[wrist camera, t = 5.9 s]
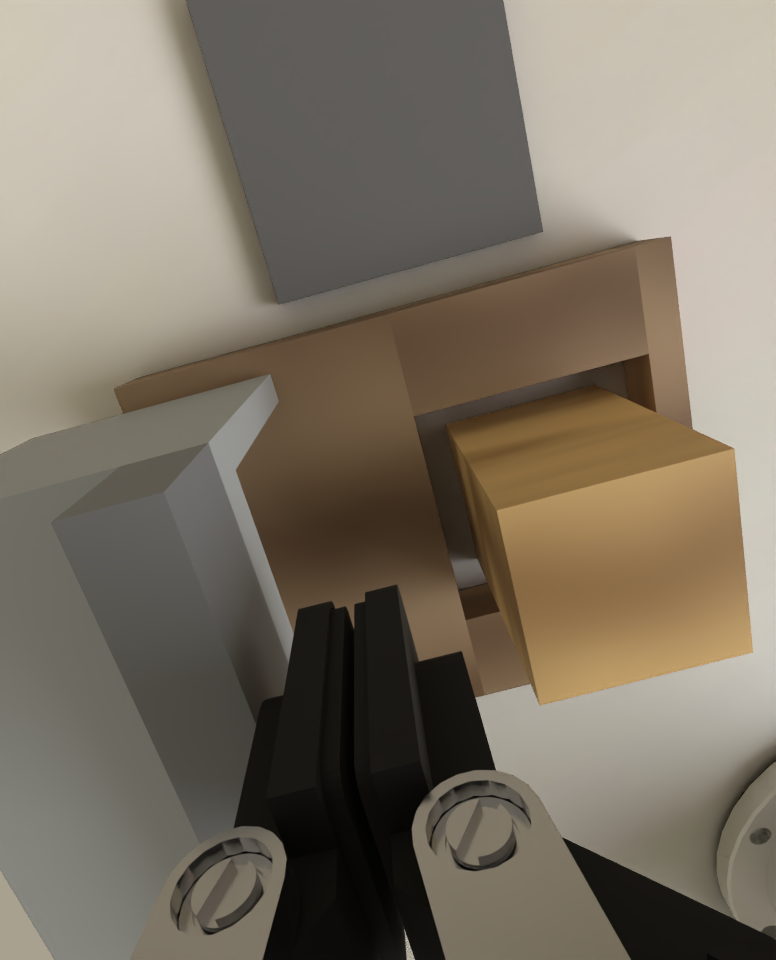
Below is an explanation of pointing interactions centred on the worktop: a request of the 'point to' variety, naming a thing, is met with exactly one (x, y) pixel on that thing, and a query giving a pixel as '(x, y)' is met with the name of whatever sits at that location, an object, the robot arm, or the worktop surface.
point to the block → (605, 539)
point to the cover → (129, 657)
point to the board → (394, 437)
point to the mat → (370, 132)
